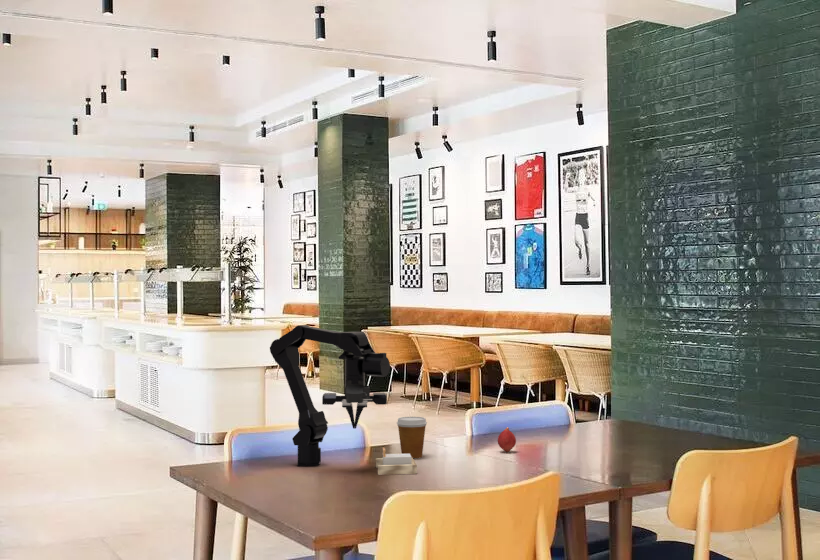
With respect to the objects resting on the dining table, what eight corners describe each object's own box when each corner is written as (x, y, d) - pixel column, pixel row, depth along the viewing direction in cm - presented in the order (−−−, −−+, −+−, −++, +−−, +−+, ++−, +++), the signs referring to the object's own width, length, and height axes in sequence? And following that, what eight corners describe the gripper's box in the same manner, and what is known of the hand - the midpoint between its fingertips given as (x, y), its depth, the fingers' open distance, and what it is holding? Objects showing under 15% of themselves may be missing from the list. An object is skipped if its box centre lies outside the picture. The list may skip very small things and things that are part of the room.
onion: (495, 453, 299) (495, 428, 299) (500, 450, 305) (500, 425, 305) (513, 454, 297) (513, 428, 297) (518, 451, 302) (518, 426, 302)
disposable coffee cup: (424, 460, 288) (423, 421, 288) (393, 459, 289) (393, 420, 290) (429, 454, 297) (429, 416, 297) (400, 453, 299) (400, 416, 299)
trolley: (383, 473, 268) (383, 450, 268) (382, 469, 275) (382, 446, 275) (411, 473, 269) (411, 450, 269) (409, 468, 275) (409, 446, 275)
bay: (378, 474, 265) (378, 465, 265) (375, 466, 277) (375, 458, 277) (416, 473, 266) (416, 465, 266) (413, 466, 278) (413, 457, 278)
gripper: (321, 377, 266) (321, 432, 266) (387, 377, 267) (387, 432, 267) (323, 373, 277) (322, 426, 277) (386, 373, 278) (386, 426, 278)
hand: (354, 428), depth 274 cm, fingers closed
